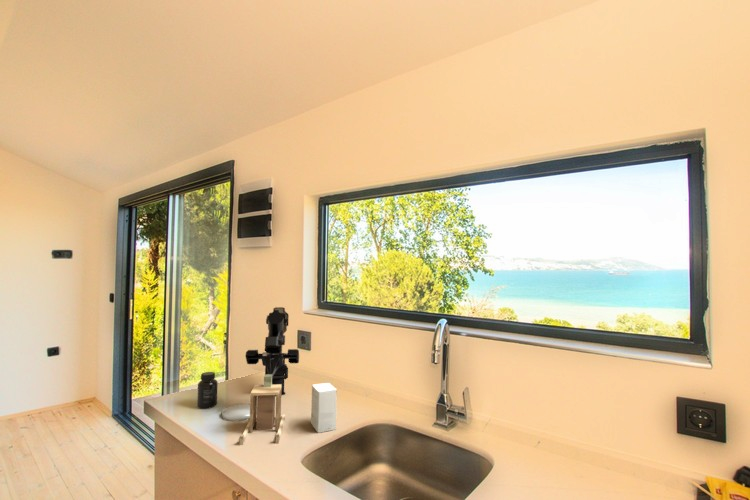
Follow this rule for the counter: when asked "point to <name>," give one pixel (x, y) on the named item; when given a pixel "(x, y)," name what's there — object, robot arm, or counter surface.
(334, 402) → the small box
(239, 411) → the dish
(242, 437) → the track
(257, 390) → the wooden toy stool
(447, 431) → the counter surface
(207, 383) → the supplement bottle
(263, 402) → the walnut block
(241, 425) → the counter surface
